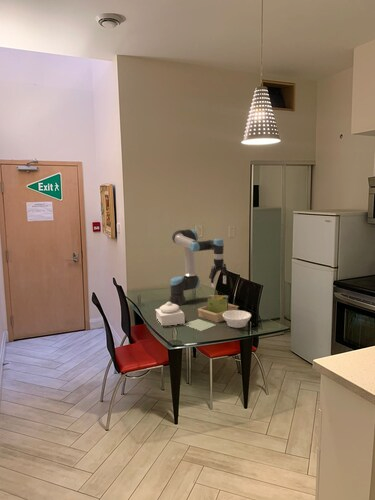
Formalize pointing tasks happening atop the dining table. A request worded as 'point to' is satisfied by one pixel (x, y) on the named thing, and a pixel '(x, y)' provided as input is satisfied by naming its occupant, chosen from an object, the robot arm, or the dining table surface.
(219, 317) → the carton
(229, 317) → the bowl
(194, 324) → the mat
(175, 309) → the butter dish
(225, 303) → the protein box
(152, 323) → the dining table surface
